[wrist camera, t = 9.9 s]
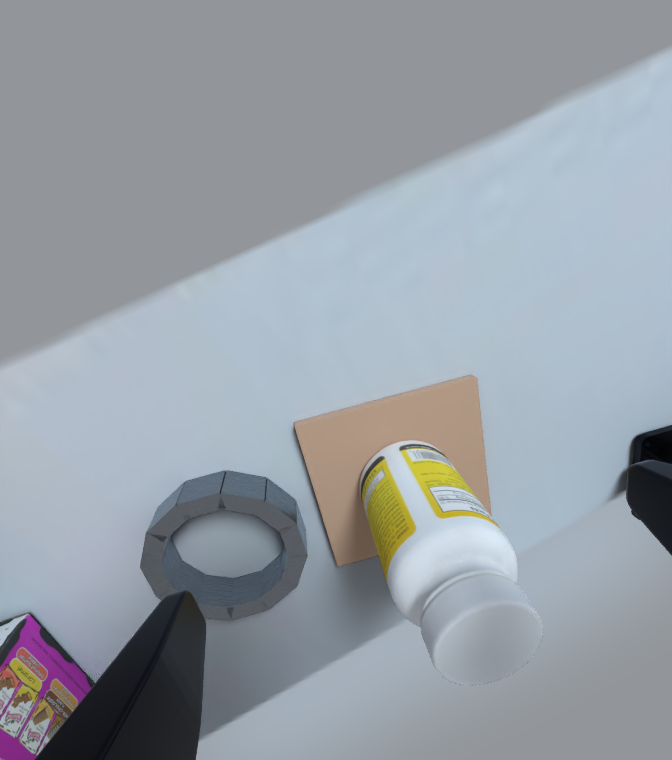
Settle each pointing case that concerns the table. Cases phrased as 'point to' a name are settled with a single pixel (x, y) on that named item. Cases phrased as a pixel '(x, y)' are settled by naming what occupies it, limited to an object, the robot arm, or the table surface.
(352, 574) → the table surface
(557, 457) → the table surface
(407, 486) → the supplement bottle
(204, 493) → the collar
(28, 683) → the candy bar box
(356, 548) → the mat
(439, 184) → the table surface
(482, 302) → the table surface
